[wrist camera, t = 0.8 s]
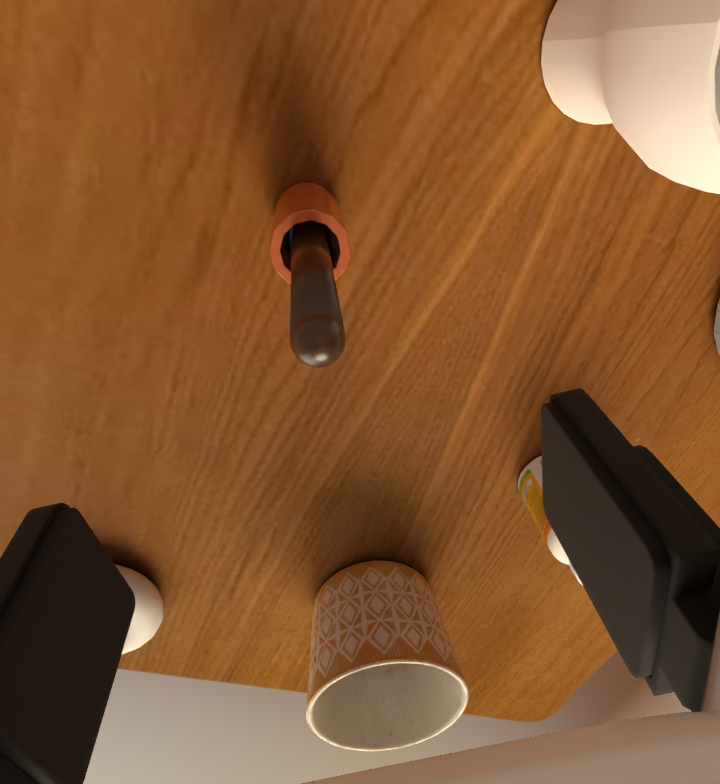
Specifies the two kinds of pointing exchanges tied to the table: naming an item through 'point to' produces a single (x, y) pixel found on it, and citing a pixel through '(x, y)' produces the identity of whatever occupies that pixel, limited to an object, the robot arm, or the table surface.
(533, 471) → the supplement bottle
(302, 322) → the stick
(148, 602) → the donut
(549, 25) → the cup
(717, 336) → the bowl
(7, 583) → the robot arm
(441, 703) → the planter
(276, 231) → the holder
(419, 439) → the table surface
